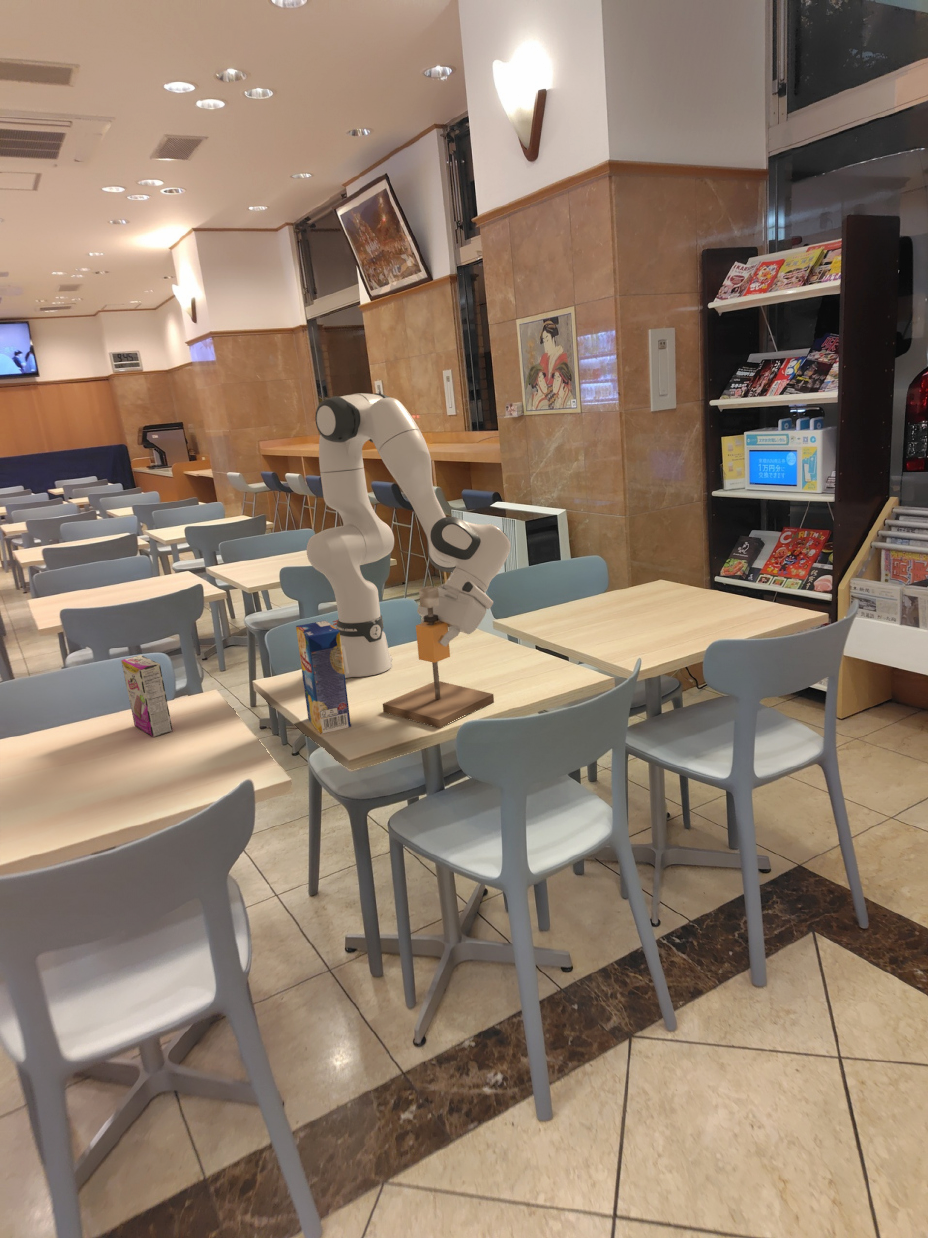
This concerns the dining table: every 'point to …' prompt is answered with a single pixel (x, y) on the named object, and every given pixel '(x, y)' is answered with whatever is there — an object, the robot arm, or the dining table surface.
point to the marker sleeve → (432, 641)
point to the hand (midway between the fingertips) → (430, 640)
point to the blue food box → (323, 676)
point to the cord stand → (436, 688)
